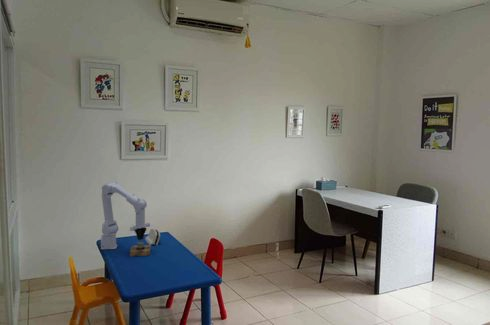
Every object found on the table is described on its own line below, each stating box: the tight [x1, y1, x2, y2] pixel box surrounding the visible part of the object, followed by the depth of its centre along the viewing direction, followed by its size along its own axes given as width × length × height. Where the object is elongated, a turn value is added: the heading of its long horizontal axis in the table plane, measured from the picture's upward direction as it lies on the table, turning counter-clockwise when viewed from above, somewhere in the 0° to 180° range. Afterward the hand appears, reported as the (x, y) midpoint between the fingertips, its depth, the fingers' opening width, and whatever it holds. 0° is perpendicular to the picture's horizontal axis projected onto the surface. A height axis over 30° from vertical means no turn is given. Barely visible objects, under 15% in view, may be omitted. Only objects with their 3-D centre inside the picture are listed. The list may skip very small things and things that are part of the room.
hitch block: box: [129, 244, 152, 257], centre depth 245 cm, size 12×12×3 cm
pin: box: [137, 240, 144, 250], centre depth 245 cm, size 4×4×7 cm
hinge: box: [144, 228, 161, 246], centre depth 268 cm, size 17×5×10 cm, turn 28°
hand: (140, 239), depth 244 cm, fingers closed
